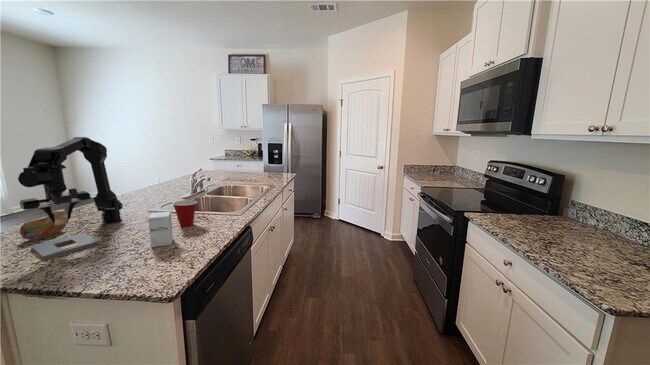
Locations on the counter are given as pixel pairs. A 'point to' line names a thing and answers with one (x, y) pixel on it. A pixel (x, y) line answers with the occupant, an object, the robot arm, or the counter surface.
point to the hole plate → (52, 250)
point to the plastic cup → (185, 212)
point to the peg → (60, 217)
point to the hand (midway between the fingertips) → (61, 220)
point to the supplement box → (160, 229)
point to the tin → (39, 228)
